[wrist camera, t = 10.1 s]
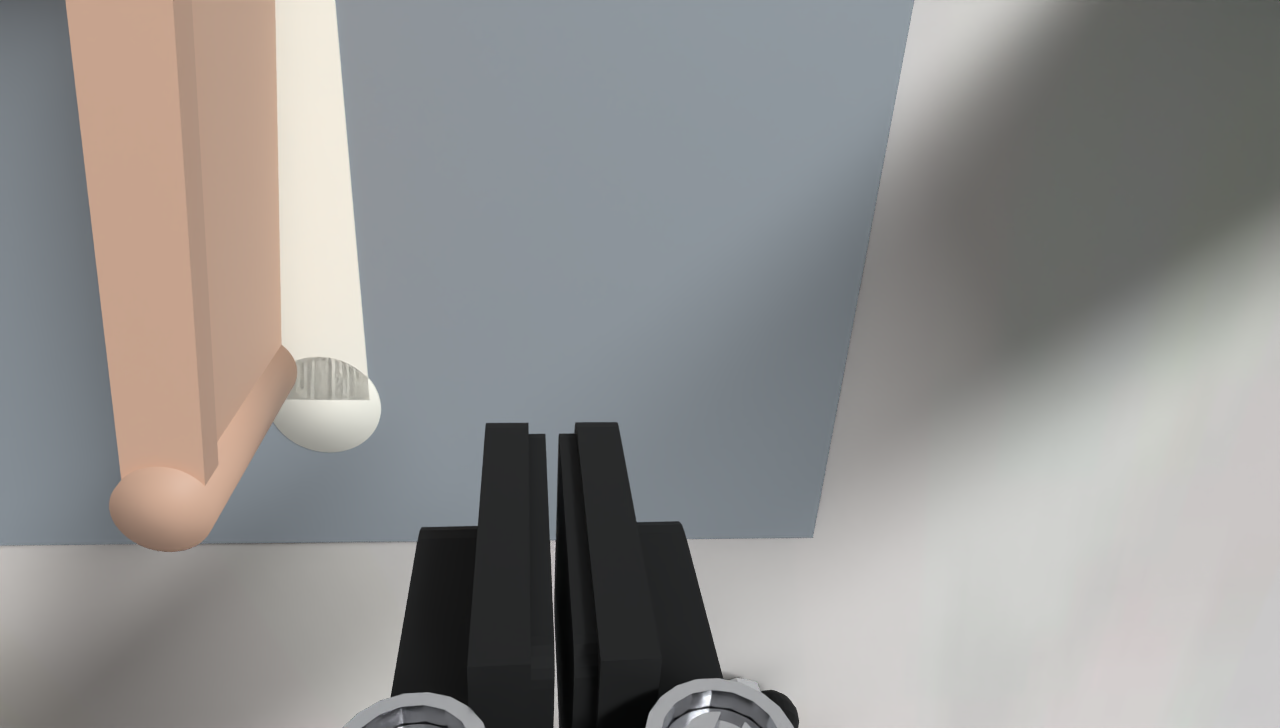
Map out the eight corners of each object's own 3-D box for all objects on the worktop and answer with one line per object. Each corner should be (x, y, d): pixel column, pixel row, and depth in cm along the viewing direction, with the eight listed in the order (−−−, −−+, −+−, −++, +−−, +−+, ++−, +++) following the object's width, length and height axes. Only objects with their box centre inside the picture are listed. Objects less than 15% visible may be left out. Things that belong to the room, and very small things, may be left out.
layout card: (-190, 541, 26) (-199, 548, 25) (-722, -630, 15) (-751, -643, 14) (810, 532, 29) (813, 538, 29) (987, -417, 18) (995, -423, 18)
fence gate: (190, -193, 18) (12, -259, 12) (291, -174, 18) (167, -228, 12) (222, 396, 24) (114, 548, 18) (297, 403, 24) (215, 554, 18)
